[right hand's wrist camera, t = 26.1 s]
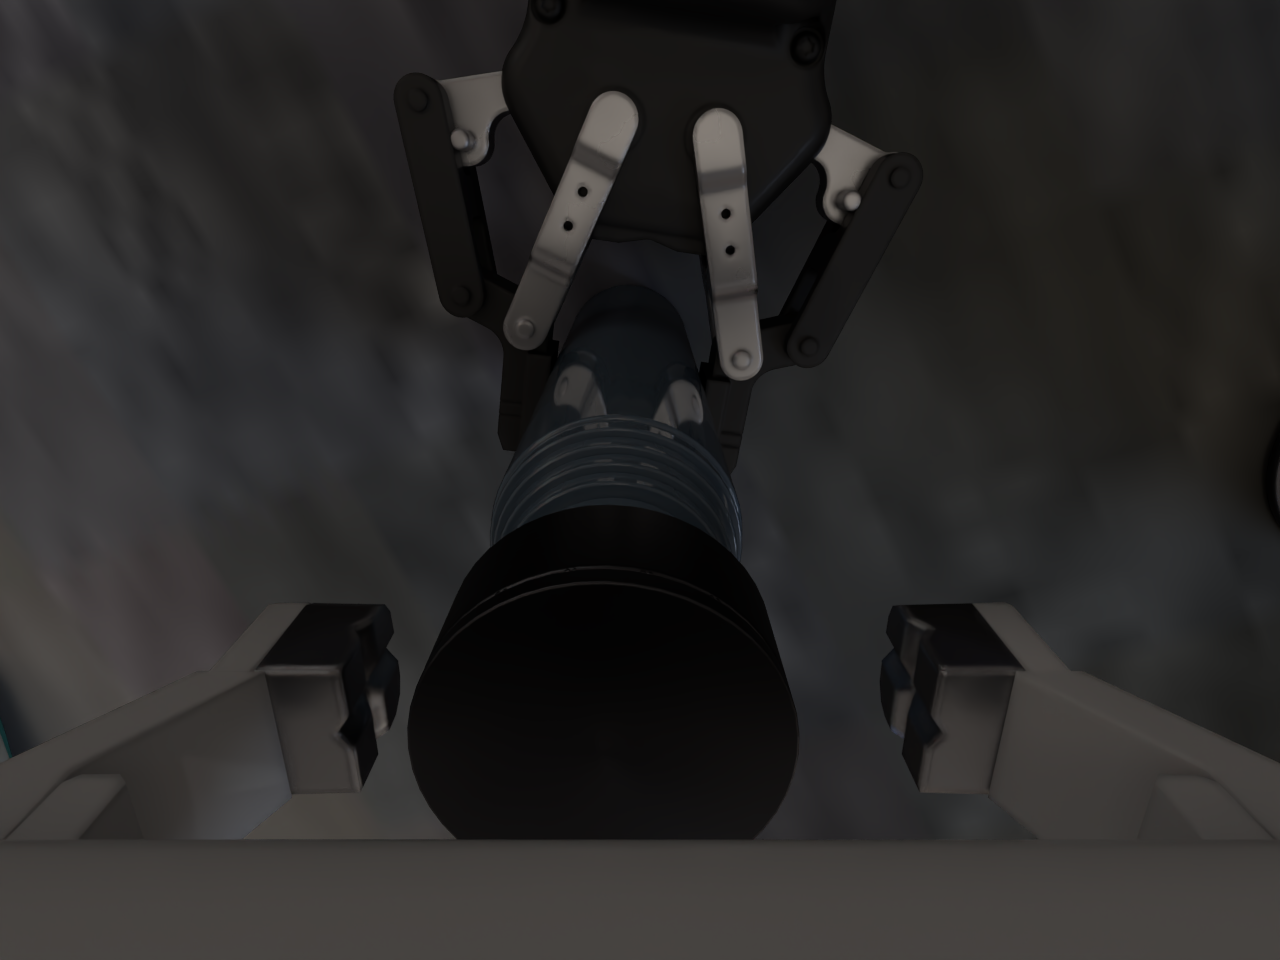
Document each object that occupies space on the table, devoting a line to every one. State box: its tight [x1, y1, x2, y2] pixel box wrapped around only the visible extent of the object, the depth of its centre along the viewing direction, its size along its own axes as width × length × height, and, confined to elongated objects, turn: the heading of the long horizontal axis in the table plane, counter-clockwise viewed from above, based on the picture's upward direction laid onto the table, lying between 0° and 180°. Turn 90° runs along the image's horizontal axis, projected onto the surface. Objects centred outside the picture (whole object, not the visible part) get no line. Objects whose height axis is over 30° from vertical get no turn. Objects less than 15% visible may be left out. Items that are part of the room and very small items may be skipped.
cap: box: [407, 505, 799, 840], centre depth 9 cm, size 4×4×2 cm
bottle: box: [490, 285, 742, 562], centre depth 19 cm, size 4×4×21 cm
